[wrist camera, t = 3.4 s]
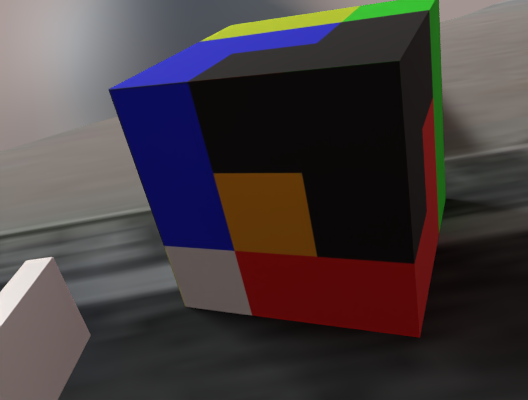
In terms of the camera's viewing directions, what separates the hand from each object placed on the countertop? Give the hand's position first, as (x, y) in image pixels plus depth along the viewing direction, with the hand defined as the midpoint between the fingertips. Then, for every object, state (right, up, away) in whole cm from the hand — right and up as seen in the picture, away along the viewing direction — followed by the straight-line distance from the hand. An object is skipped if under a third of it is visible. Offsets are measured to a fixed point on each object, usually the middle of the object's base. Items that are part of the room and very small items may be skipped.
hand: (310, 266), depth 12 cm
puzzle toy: (+2, -1, +11) cm, 12 cm away
